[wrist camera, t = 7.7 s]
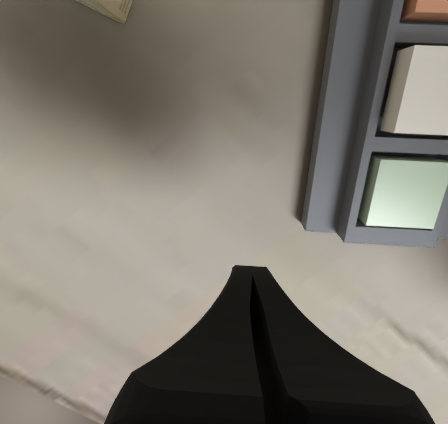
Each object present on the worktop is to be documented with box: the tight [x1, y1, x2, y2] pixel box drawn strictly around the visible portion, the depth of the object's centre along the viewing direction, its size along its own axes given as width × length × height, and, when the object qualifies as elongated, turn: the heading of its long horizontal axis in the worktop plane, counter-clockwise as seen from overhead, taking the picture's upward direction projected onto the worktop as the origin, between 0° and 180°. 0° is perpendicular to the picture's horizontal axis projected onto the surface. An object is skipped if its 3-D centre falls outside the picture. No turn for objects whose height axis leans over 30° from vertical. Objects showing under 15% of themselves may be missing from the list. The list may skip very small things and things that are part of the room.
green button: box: [358, 155, 448, 229], centre depth 18 cm, size 4×4×2 cm
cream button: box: [380, 45, 448, 135], centre depth 15 cm, size 4×4×2 cm
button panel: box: [301, 0, 448, 248], centre depth 17 cm, size 18×10×3 cm, turn 178°
